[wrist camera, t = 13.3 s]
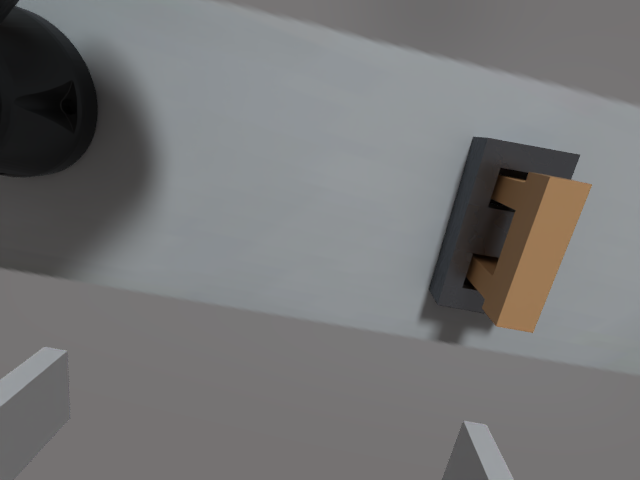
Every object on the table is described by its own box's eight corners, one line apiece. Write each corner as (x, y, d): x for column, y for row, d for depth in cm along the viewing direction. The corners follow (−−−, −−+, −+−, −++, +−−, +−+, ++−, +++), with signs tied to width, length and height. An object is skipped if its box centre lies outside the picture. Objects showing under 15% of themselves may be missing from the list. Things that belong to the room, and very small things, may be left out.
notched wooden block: (484, 282, 39) (532, 332, 29) (457, 276, 39) (495, 326, 29) (523, 168, 35) (592, 184, 26) (492, 163, 35) (550, 176, 26)
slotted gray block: (502, 302, 39) (517, 319, 36) (429, 289, 39) (437, 304, 36) (556, 152, 35) (580, 154, 31) (473, 136, 35) (488, 138, 31)
